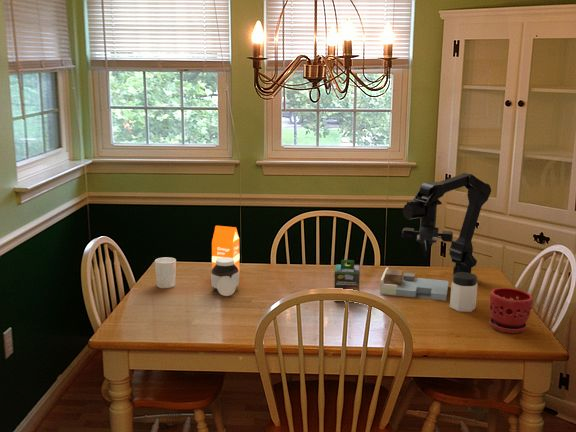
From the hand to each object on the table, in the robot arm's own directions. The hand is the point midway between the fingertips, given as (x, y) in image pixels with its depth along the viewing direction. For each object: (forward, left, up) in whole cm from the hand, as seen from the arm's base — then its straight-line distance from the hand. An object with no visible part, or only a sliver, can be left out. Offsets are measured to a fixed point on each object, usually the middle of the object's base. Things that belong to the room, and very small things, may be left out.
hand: (425, 256), depth 257 cm
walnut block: (+11, +6, -10) cm, 16 cm away
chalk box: (+26, +22, -12) cm, 36 cm away
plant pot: (-30, +33, -12) cm, 46 cm away
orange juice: (+77, +11, -12) cm, 79 cm away
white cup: (+94, +30, -12) cm, 99 cm away
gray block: (+6, 0, -12) cm, 13 cm away
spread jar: (+70, +29, -12) cm, 77 cm away
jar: (-15, +19, -12) cm, 27 cm away
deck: (+3, +6, -12) cm, 14 cm away
